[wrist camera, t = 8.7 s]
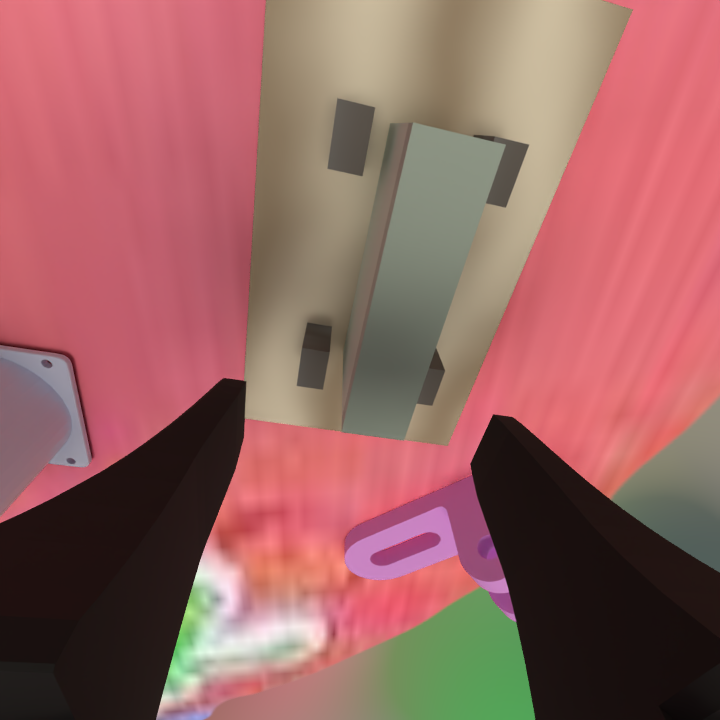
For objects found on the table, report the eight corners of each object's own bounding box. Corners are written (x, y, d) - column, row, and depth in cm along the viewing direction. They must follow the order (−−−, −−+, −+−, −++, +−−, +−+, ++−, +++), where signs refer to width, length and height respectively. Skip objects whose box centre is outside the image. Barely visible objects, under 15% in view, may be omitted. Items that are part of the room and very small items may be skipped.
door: (343, 351, 20) (341, 432, 14) (390, 123, 15) (413, 122, 9) (389, 359, 20) (403, 440, 15) (451, 137, 15) (506, 144, 10)
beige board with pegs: (245, 406, 22) (230, 450, 19) (276, -84, 12) (254, -149, 9) (444, 434, 24) (457, 478, 21) (615, 16, 14) (689, -14, 11)
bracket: (491, 465, 26) (534, 567, 20) (521, 510, 28) (567, 613, 22) (330, 535, 29) (325, 641, 23) (369, 570, 32) (375, 674, 26)
